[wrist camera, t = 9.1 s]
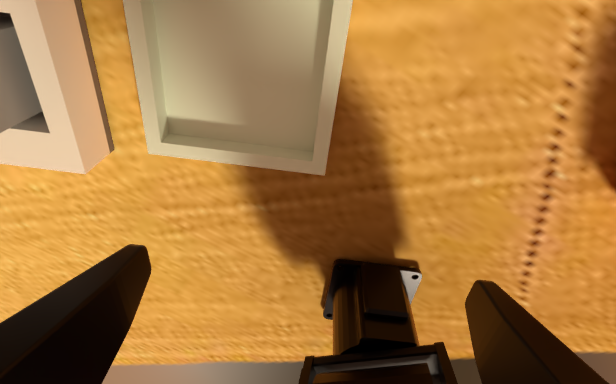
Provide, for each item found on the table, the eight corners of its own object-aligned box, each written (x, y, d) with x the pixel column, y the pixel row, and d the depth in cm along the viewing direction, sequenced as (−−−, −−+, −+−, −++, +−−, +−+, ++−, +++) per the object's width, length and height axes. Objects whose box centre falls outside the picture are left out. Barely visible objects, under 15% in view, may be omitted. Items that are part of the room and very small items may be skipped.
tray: (325, 161, 21) (324, 175, 20) (160, 140, 21) (148, 153, 19) (355, -35, 15) (358, -35, 14) (131, -65, 15) (111, -68, 14)
